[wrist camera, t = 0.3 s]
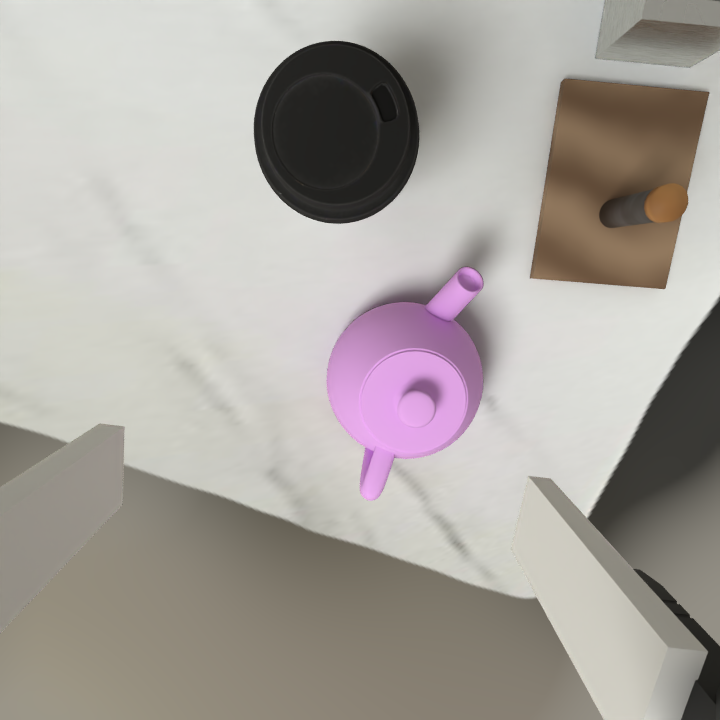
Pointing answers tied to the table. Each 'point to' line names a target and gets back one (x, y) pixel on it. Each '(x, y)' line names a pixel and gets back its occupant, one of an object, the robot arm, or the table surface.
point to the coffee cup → (336, 132)
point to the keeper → (616, 183)
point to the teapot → (407, 379)
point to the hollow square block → (659, 31)
